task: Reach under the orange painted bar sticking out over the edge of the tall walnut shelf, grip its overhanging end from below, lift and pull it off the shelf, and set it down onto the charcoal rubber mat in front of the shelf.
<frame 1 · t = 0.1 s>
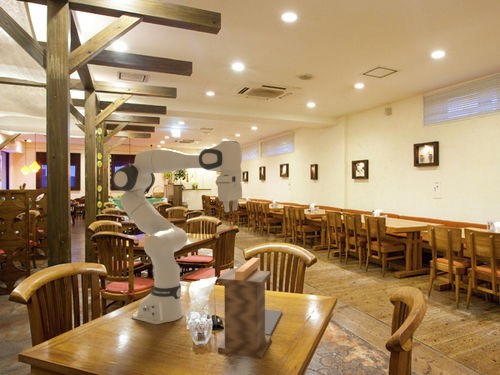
hand: (231, 211, 139), 48 cm above the table, tool pointing down, fingers open, 8 cm apart
mat: (260, 322, 141), on the table
bar: (248, 272, 124), point 26 cm above the table, touching shelf
shelf: (245, 345, 121), on the table
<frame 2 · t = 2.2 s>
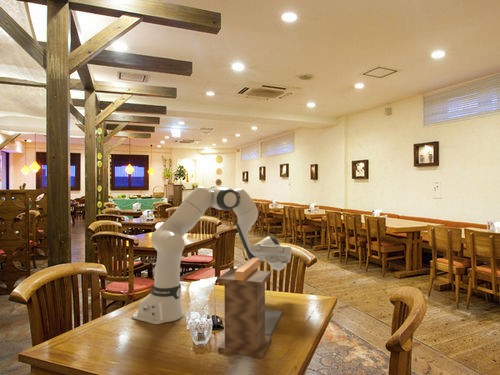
hand: (267, 245, 154), 30 cm above the table, tool pointing upward, fingers open, 8 cm apart
nothing on the table moved.
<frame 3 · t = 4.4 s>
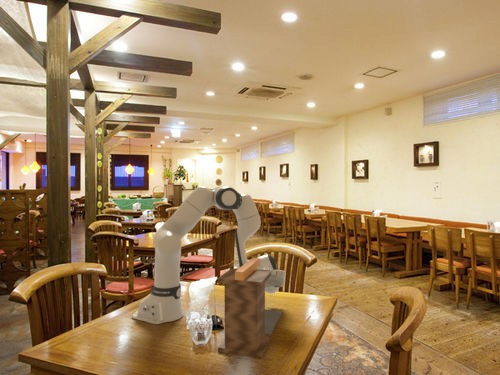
hand: (259, 269, 139), 23 cm above the table, tool pointing upward, fingers open, 8 cm apart
nothing on the table moved.
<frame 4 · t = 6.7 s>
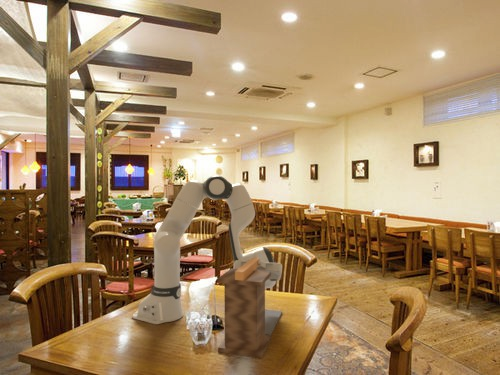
hand: (253, 262, 131), 28 cm above the table, tool pointing upward, fingers closed on bar, 3 cm apart
bar: (248, 271, 124), point 26 cm above the table, touching gripper, shelf
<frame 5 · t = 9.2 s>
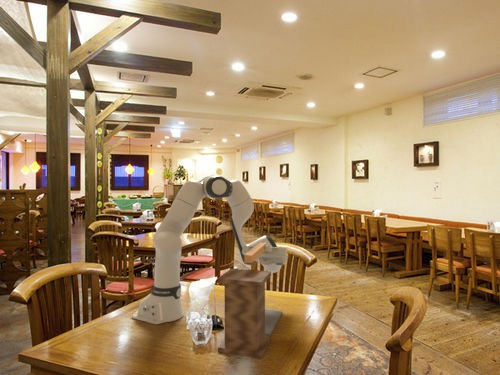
hand: (260, 246, 141), 32 cm above the table, tool pointing upward, fingers closed on bar, 3 cm apart
bar: (256, 255, 135), point 30 cm above the table, touching gripper
when the fingers open (19 cm above the table, at t = 11.9 s): bar drops 15 cm, resting on mat.
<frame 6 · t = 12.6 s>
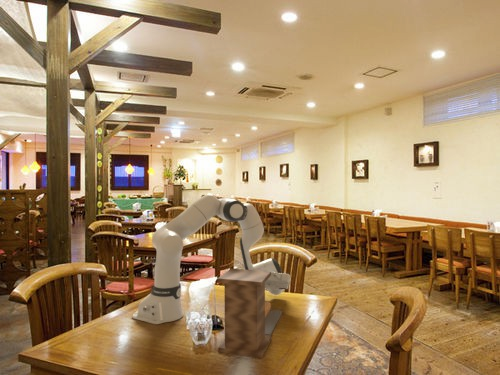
hand: (265, 273, 149), 19 cm above the table, tool pointing upward, fingers open, 8 cm apart
bar: (261, 317, 143), point 1 cm above the table, touching mat
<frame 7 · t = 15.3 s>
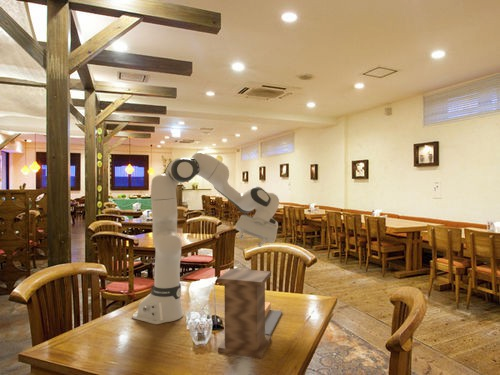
hand: (249, 242, 153), 32 cm above the table, tool tilted 50°, fingers open, 8 cm apart
nothing on the table moved.
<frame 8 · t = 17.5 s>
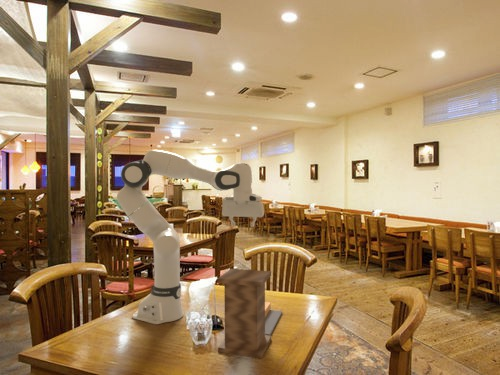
hand: (242, 226, 156), 39 cm above the table, tool pointing down, fingers open, 8 cm apart
nothing on the table moved.
at the end: bar inside the target area (1.3 cm from its centre), point 1.0 cm above the table; bar touching mat; the gripper is holding nothing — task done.
